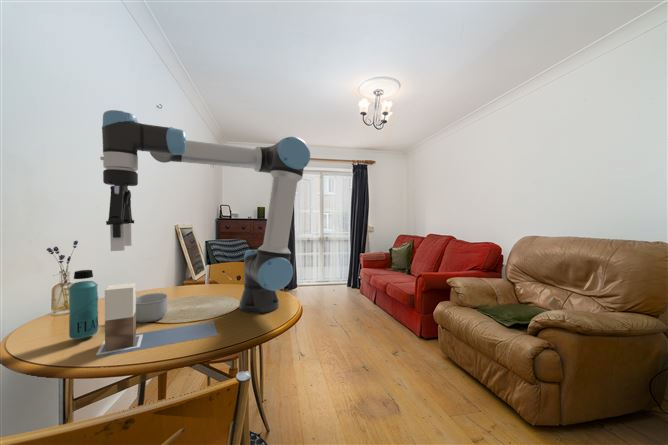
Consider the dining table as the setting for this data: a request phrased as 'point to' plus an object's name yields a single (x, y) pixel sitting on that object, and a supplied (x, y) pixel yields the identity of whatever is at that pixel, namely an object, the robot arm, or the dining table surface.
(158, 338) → the plan sheet
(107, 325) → the walnut block
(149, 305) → the teacup
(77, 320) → the beverage bottle
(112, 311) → the cream block
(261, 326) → the dining table surface
